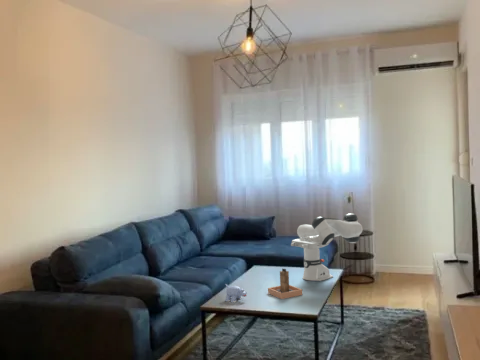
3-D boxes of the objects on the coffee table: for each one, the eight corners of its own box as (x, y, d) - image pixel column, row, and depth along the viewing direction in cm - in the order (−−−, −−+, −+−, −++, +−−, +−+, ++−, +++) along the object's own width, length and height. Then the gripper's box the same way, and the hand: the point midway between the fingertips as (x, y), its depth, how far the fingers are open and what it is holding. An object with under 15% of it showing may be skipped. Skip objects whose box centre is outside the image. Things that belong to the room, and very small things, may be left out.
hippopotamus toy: (241, 303, 297) (241, 288, 296) (221, 300, 304) (220, 286, 304) (250, 299, 306) (249, 284, 306) (230, 296, 314) (229, 281, 313)
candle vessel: (288, 289, 325) (288, 284, 325) (302, 294, 311) (302, 289, 311) (268, 293, 317) (267, 288, 317) (281, 299, 303) (281, 293, 303)
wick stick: (284, 291, 317) (284, 267, 316) (289, 292, 314) (288, 268, 313) (280, 292, 314) (279, 268, 314) (284, 293, 311) (284, 269, 311)
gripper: (322, 249, 321) (308, 252, 312) (300, 245, 337) (286, 248, 328) (322, 239, 321) (308, 242, 312) (300, 236, 337) (285, 239, 328)
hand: (296, 245), depth 320 cm, fingers open, 8 cm apart
